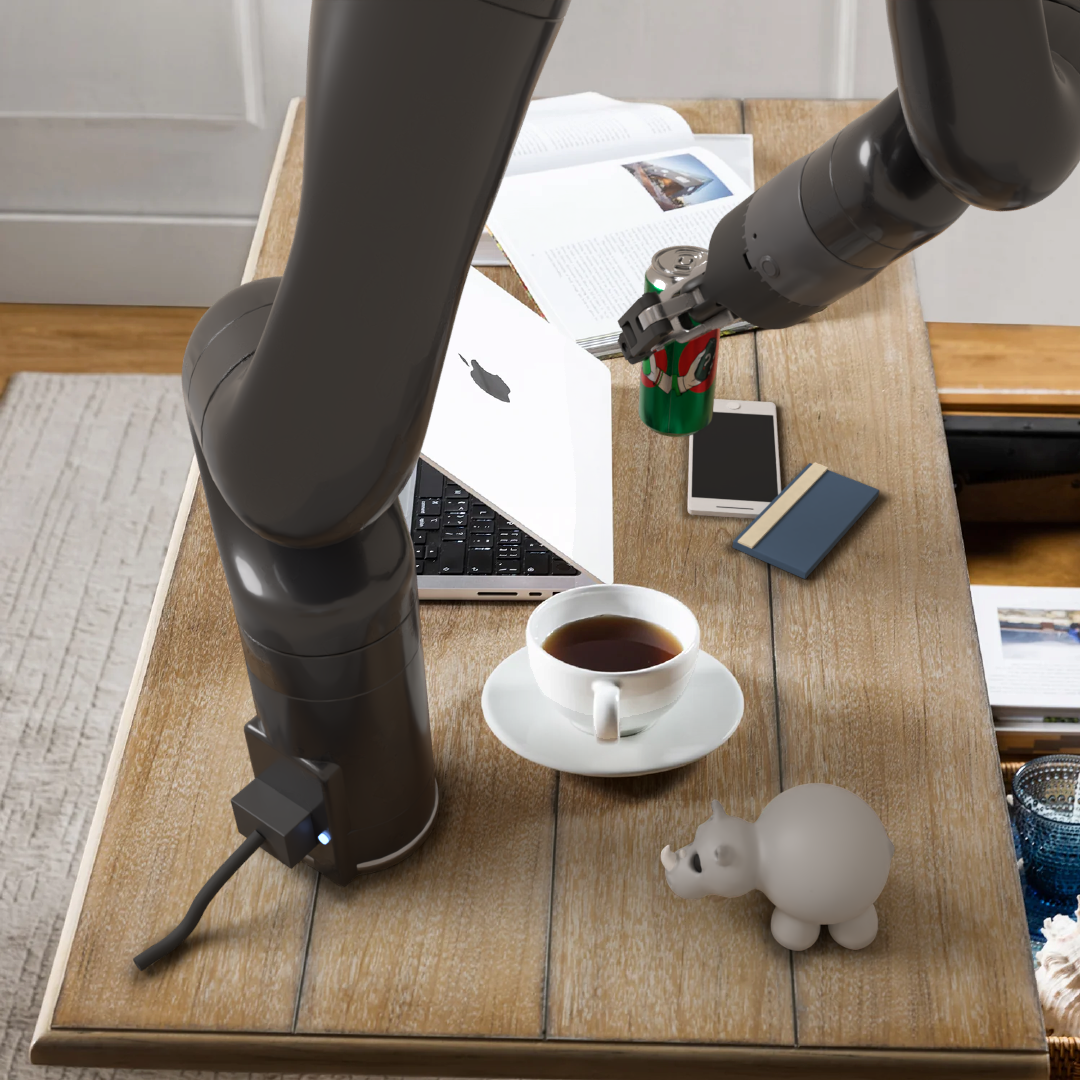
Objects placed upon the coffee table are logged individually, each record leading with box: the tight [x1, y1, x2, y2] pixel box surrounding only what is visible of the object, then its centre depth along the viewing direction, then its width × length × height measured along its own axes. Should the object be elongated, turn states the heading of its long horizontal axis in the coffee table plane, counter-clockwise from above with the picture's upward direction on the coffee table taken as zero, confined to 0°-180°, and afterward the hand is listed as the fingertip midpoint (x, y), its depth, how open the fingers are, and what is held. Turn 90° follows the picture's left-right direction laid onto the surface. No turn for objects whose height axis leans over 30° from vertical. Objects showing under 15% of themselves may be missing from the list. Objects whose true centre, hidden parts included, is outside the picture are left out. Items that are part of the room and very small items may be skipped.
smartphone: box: [687, 398, 782, 519], centre depth 102 cm, size 7×16×1 cm, turn 174°
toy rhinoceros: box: [660, 782, 896, 952], centre depth 67 cm, size 7×12×8 cm, turn 89°
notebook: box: [732, 461, 880, 580], centre depth 96 cm, size 12×6×1 cm, turn 143°
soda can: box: [637, 244, 722, 438], centre depth 84 cm, size 5×5×12 cm
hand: (662, 336), depth 85 cm, fingers closed on soda can, 5 cm apart
